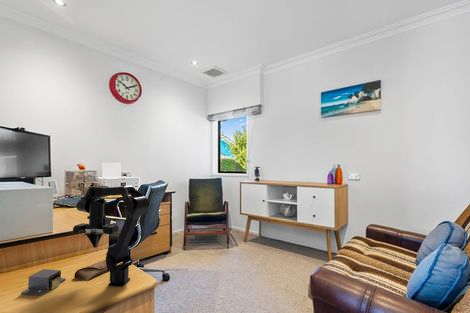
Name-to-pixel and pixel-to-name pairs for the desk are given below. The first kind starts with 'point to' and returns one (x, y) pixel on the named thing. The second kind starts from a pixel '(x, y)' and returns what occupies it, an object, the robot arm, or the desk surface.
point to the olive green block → (54, 283)
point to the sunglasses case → (91, 271)
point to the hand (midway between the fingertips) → (95, 247)
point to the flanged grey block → (41, 282)
